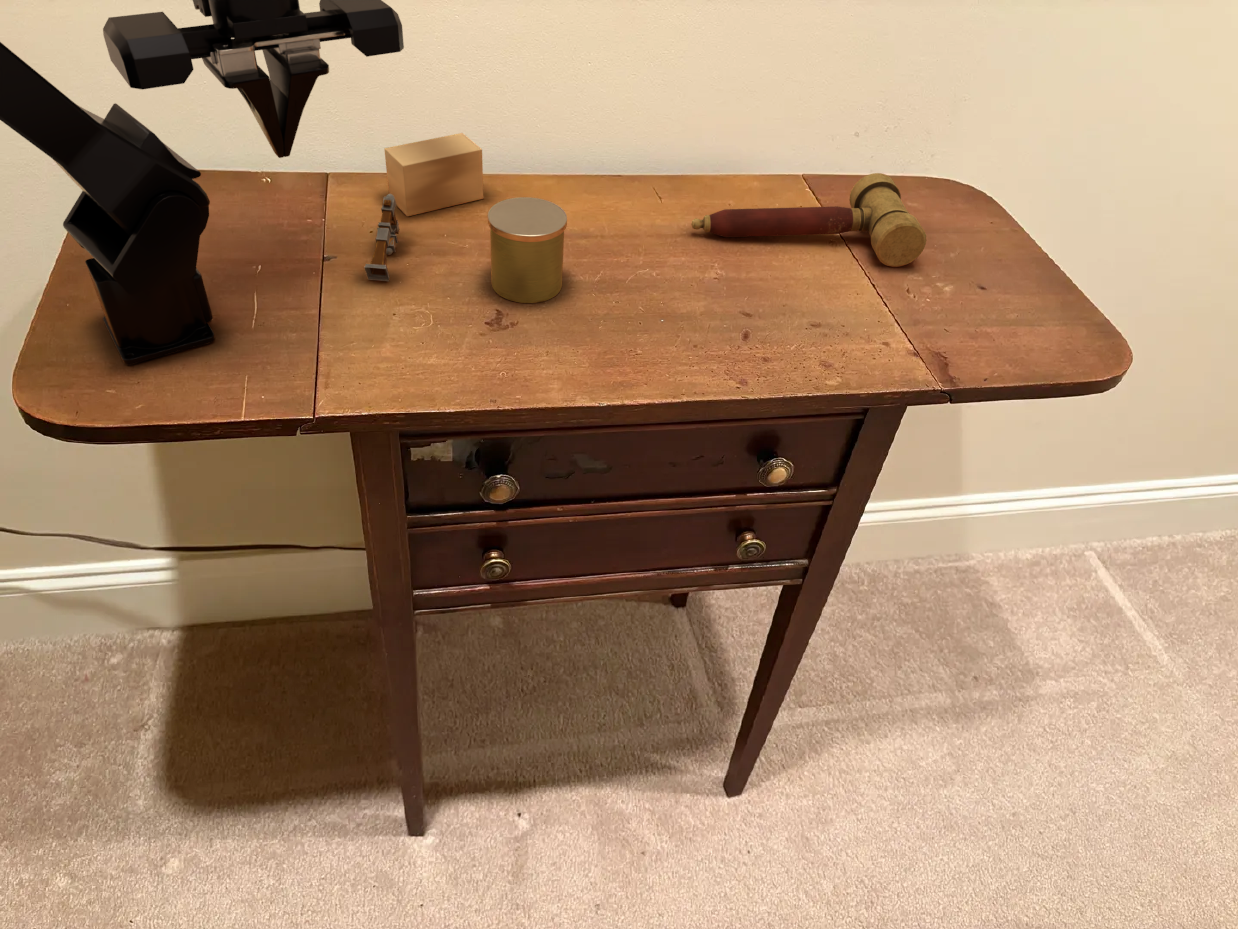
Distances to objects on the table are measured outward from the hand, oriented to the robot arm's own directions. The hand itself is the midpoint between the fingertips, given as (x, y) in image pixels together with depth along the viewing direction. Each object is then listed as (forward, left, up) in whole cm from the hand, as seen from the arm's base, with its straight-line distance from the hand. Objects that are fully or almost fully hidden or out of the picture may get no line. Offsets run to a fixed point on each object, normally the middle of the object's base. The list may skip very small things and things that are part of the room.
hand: (282, 154), depth 69 cm
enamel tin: (+16, -9, -11) cm, 21 cm away
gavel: (+43, -14, -11) cm, 47 cm away
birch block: (+16, +8, -11) cm, 21 cm away
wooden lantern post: (+7, 0, -11) cm, 13 cm away
